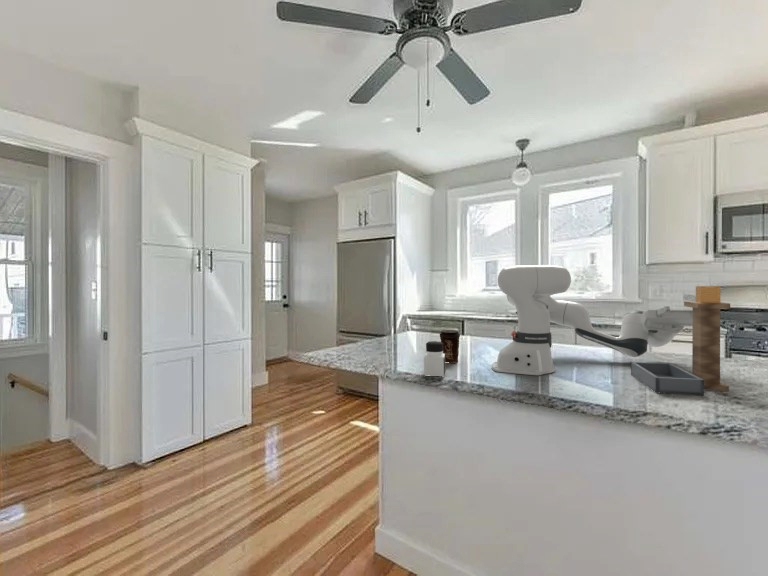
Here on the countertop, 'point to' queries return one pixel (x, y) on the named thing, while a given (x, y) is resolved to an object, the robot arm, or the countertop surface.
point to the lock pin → (705, 294)
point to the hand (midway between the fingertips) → (683, 308)
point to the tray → (667, 378)
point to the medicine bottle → (434, 359)
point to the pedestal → (707, 343)
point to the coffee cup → (450, 345)
